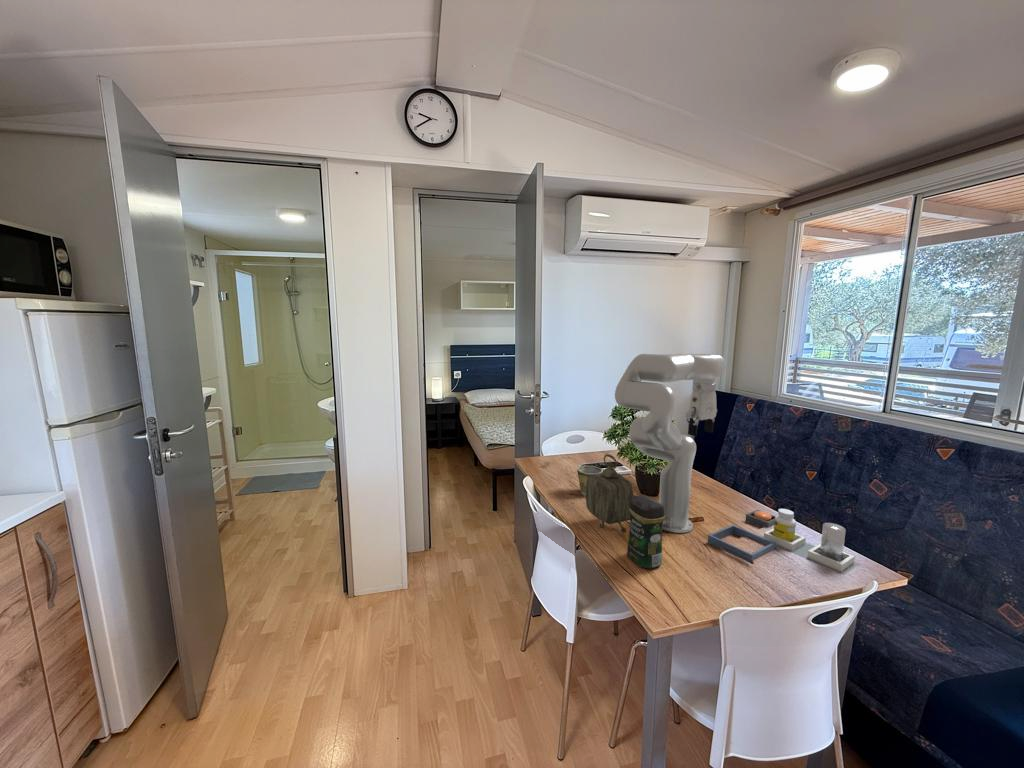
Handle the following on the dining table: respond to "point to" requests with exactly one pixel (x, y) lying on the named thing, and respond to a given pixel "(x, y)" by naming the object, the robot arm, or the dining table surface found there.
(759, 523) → the button housing
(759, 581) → the dining table surface
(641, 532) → the coffee jar
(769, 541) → the rectangular frame
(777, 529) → the supplement bottle
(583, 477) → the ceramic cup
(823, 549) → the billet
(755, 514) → the button
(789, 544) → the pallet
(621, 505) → the olive drawstring pouch
